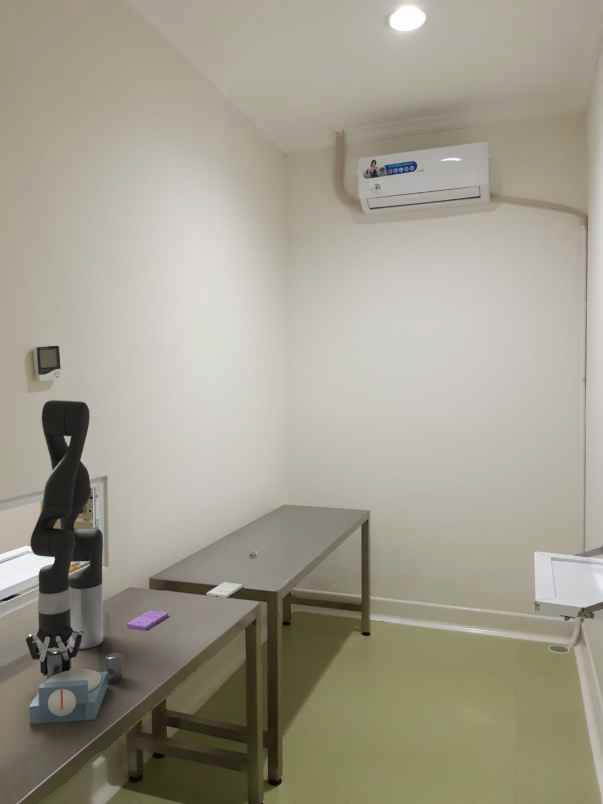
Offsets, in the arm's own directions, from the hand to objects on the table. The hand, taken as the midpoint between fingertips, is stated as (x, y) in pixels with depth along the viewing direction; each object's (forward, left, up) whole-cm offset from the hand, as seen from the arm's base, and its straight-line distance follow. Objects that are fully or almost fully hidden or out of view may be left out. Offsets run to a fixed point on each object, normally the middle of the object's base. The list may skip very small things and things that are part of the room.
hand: (55, 673), depth 157 cm
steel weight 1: (0, 0, -1) cm, 1 cm away
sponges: (-38, +18, -3) cm, 42 cm away
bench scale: (+12, +6, -2) cm, 14 cm away
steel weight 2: (+1, +14, -2) cm, 15 cm away
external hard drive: (-64, +43, -3) cm, 77 cm away
